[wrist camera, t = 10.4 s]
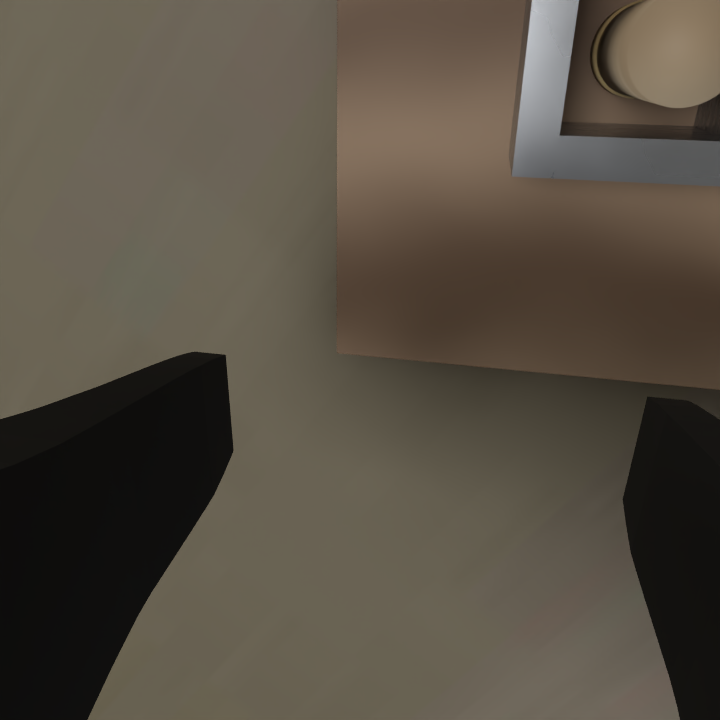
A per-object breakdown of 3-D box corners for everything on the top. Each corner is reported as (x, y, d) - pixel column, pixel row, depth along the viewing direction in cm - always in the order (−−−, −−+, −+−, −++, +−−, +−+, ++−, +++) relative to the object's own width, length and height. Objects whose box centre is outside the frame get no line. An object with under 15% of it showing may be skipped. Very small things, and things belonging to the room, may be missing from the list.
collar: (722, 164, 16) (776, 189, 13) (508, 155, 17) (511, 176, 14) (786, -88, 14) (869, -131, 11) (535, -84, 15) (546, -122, 12)
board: (828, 386, 19) (956, 511, 14) (343, 340, 22) (293, 433, 16) (1159, -495, 12) (1734, -974, 6) (347, -413, 14) (257, -704, 9)
